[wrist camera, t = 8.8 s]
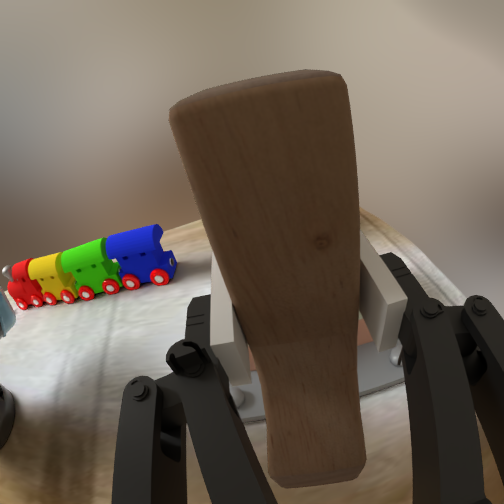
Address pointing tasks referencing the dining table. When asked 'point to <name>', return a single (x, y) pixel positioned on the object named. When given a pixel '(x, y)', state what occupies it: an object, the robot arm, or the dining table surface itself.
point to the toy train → (92, 269)
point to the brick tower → (368, 368)
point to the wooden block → (287, 254)
